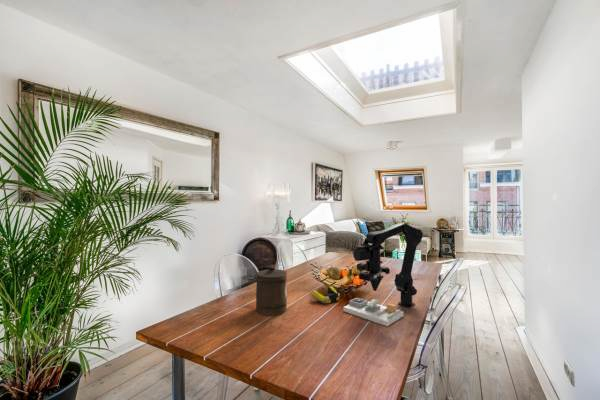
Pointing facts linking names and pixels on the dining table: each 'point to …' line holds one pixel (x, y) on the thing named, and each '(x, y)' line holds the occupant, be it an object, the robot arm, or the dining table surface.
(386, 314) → the panel
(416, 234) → the robot arm
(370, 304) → the rocker
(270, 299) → the wooden container
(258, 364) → the dining table surface
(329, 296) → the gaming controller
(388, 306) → the orange rectangular block
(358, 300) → the push button
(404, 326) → the dining table surface
